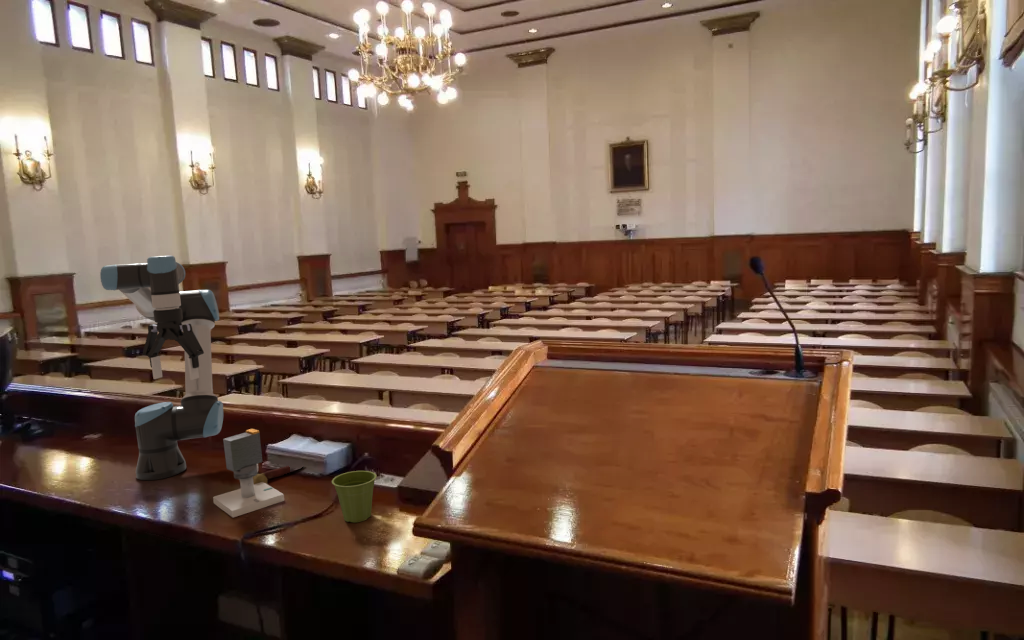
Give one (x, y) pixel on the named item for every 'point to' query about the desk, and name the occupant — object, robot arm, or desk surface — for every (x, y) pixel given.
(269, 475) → the gavel
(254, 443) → the grey block orange cap
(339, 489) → the plant pot
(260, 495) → the base
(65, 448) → the desk surface
